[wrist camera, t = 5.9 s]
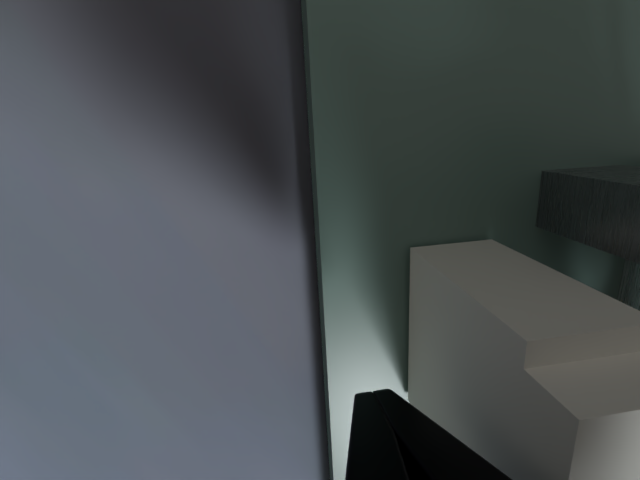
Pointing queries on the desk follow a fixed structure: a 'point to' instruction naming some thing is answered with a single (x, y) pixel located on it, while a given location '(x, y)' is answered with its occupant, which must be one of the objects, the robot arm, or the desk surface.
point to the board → (449, 154)
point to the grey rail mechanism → (597, 215)
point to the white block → (524, 363)
